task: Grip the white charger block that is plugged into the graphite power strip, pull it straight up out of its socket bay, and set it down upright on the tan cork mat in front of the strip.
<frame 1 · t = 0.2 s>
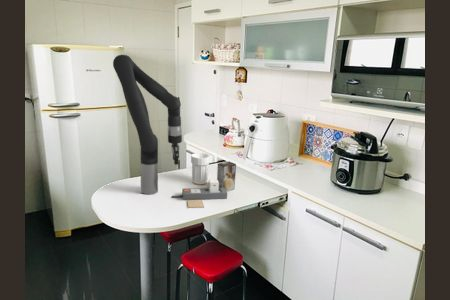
hand: (175, 161, 181), 17 cm above the table, tool pointing down, fingers open, 8 cm apart
cup: (199, 182, 200), on the table
power strip: (204, 196, 180), on the table
charger: (213, 192, 180), point 2 cm above the table, touching power strip
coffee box: (225, 189, 192), on the table
cork mat: (195, 204, 170), on the table
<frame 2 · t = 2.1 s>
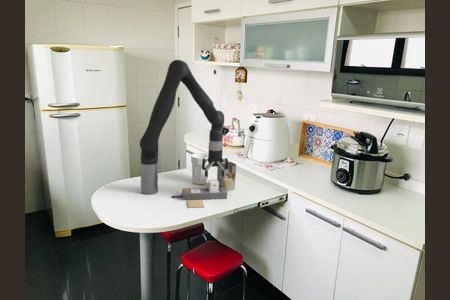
hand: (214, 176, 178), 12 cm above the table, tool pointing down, fingers open, 8 cm apart
nothing on the table moved.
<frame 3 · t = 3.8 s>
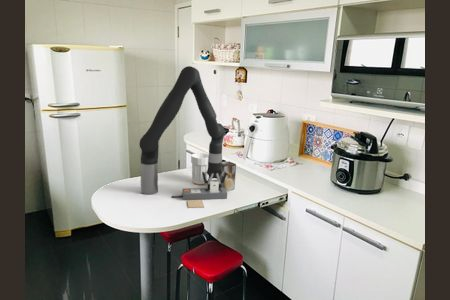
hand: (213, 189, 180), 4 cm above the table, tool pointing down, fingers closed on charger, 4 cm apart
charger: (213, 192, 180), point 2 cm above the table, touching gripper, power strip
everything else where it was.
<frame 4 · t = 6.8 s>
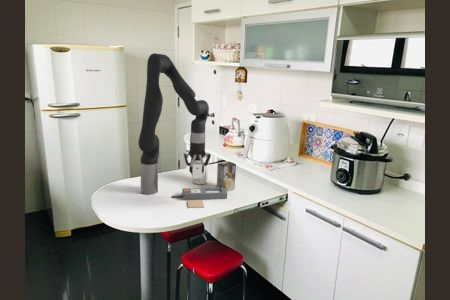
hand: (196, 172, 165), 18 cm above the table, tool pointing down, fingers closed on charger, 4 cm apart
charger: (196, 176, 165), point 16 cm above the table, touching gripper
everything else where it was.
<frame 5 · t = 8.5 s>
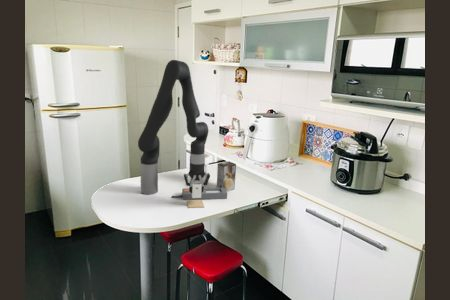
hand: (196, 192, 168), 7 cm above the table, tool pointing down, fingers closed on charger, 4 cm apart
charger: (196, 196, 168), point 5 cm above the table, touching gripper
everything else where it was.
when the fingers open (4 cm above the table, at t = 9.9 s): charger drops 1 cm, resting on cork mat.
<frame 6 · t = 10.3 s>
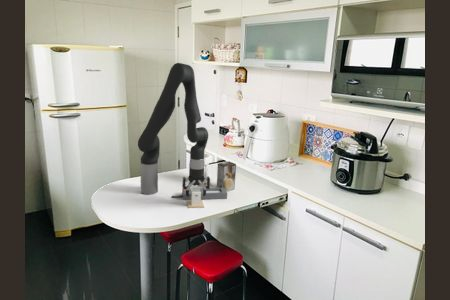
hand: (195, 195, 168), 5 cm above the table, tool pointing down, fingers open, 8 cm apart
charger: (195, 203, 169), point 1 cm above the table, touching cork mat
everything else where it was.
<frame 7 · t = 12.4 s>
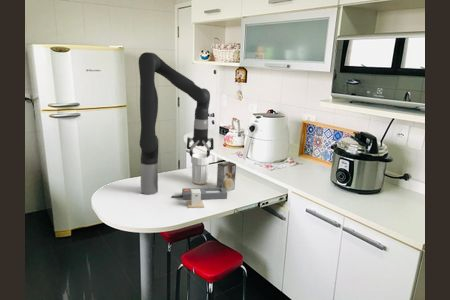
hand: (199, 156, 174), 23 cm above the table, tool pointing down, fingers open, 8 cm apart
nothing on the table moved.
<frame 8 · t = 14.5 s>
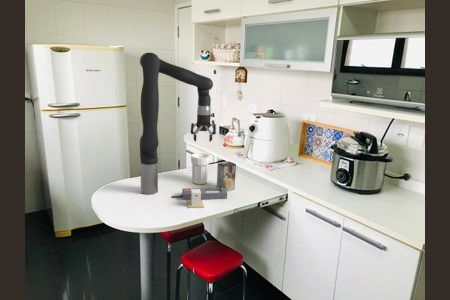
hand: (202, 141, 186), 28 cm above the table, tool pointing down, fingers open, 8 cm apart
nothing on the table moved.
at the end: charger inside the target area on the cork mat (0.0 cm from its centre), point 0.6 cm above the cork mat's base; charger tilted 0°; charger touching cork mat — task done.
